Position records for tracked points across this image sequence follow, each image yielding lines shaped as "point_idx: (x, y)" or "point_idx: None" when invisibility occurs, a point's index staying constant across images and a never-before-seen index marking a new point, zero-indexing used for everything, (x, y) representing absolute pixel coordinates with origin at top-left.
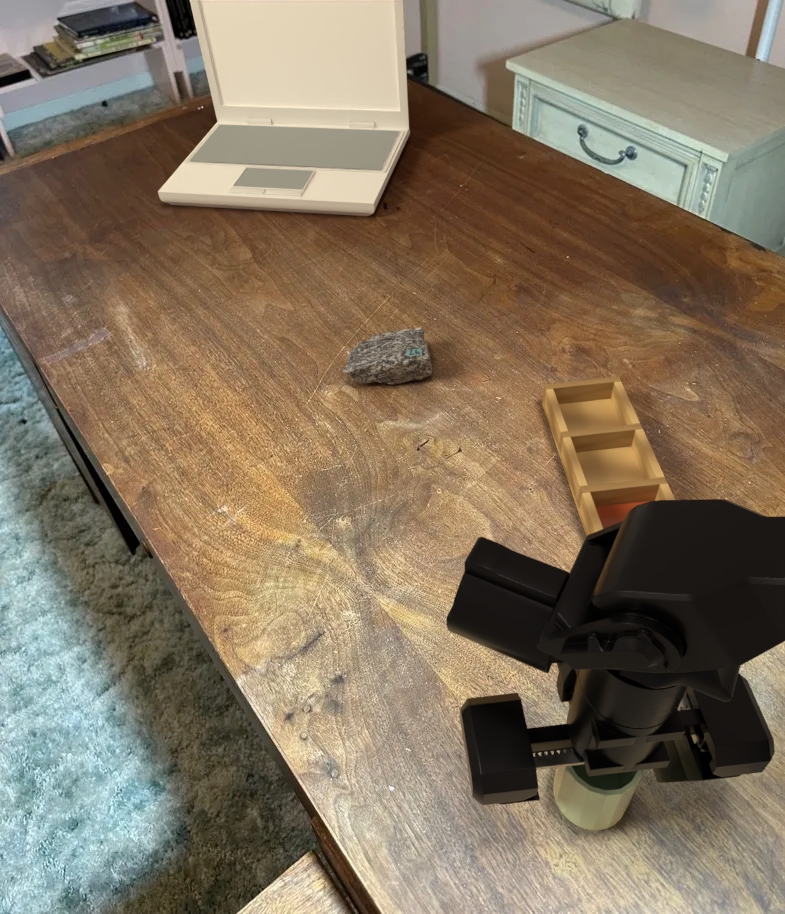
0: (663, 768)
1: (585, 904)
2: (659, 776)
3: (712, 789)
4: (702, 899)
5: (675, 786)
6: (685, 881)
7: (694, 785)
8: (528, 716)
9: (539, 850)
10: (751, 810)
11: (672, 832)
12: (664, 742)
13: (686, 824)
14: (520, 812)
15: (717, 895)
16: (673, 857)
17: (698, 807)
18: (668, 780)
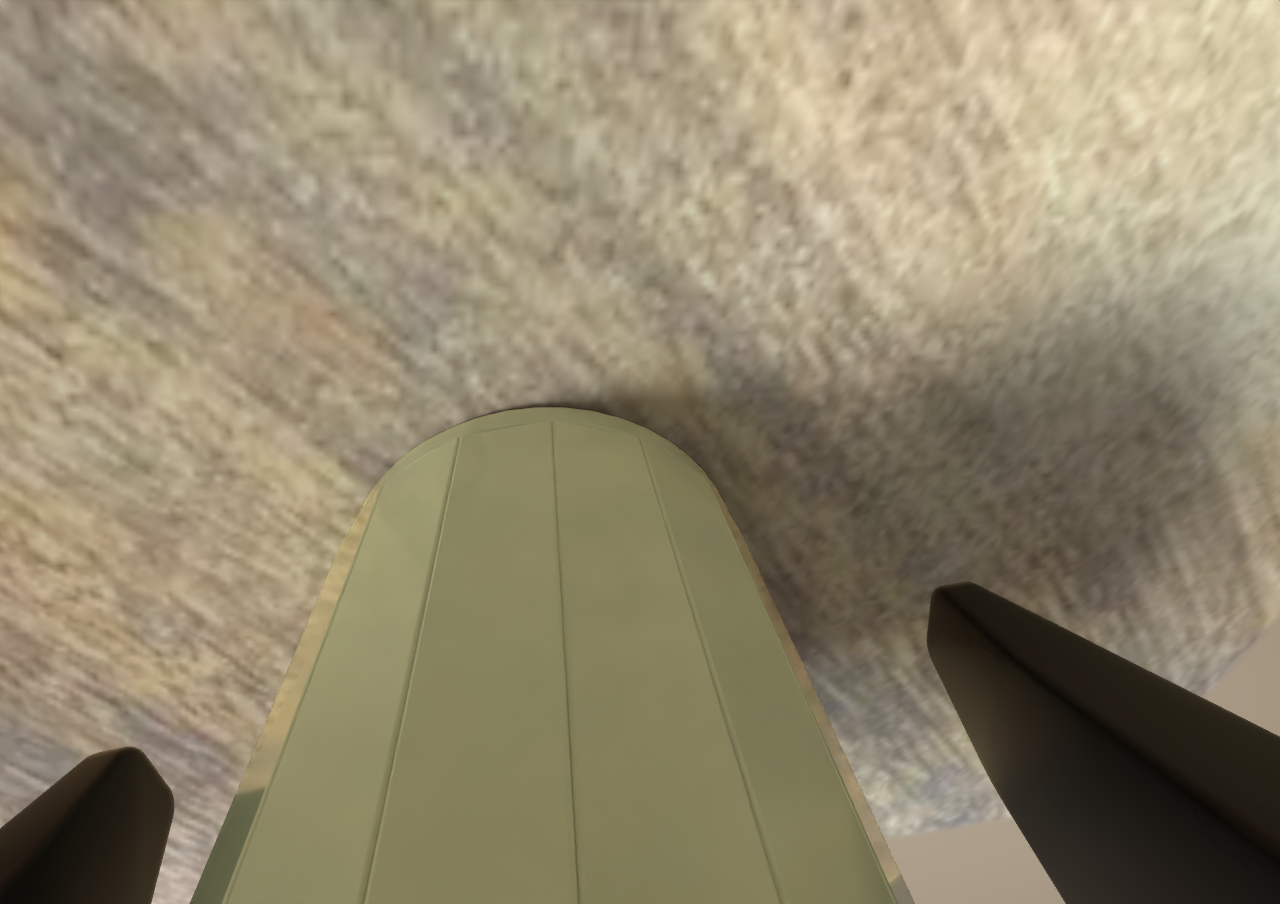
0: (1054, 800)
1: None
2: (974, 717)
3: (1134, 508)
4: (899, 823)
5: (978, 511)
6: (866, 794)
7: (1066, 499)
8: (73, 112)
9: None
10: (1233, 570)
11: (883, 675)
12: (1260, 878)
13: None
14: (183, 693)
15: (951, 808)
16: (853, 744)
17: (1033, 582)
18: (1050, 868)
